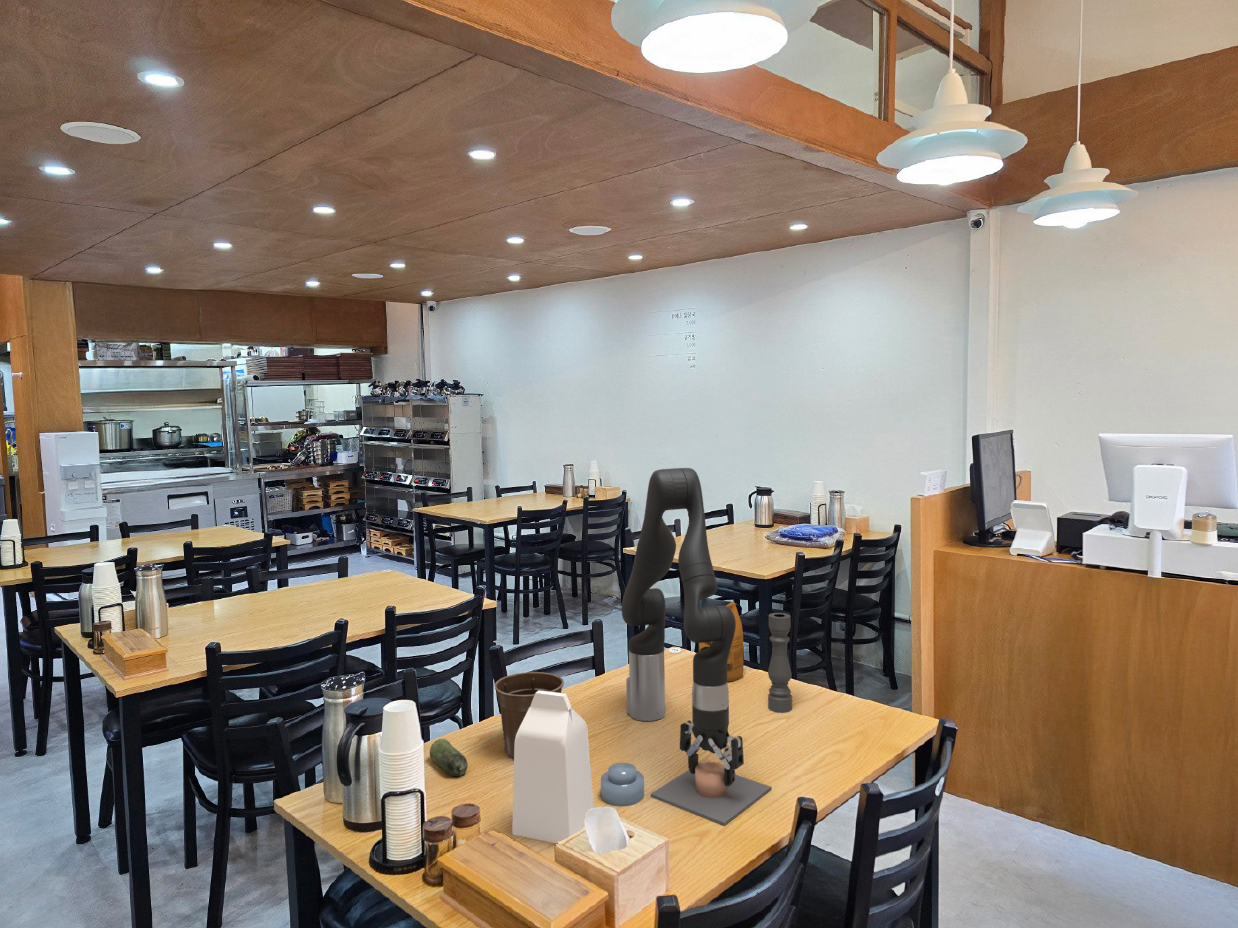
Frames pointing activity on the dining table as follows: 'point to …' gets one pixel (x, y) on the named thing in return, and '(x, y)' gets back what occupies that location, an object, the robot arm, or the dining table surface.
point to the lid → (710, 780)
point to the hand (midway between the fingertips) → (711, 778)
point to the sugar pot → (622, 785)
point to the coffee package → (732, 649)
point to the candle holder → (779, 664)
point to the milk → (551, 770)
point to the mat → (713, 809)
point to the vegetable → (448, 757)
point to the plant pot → (521, 700)
